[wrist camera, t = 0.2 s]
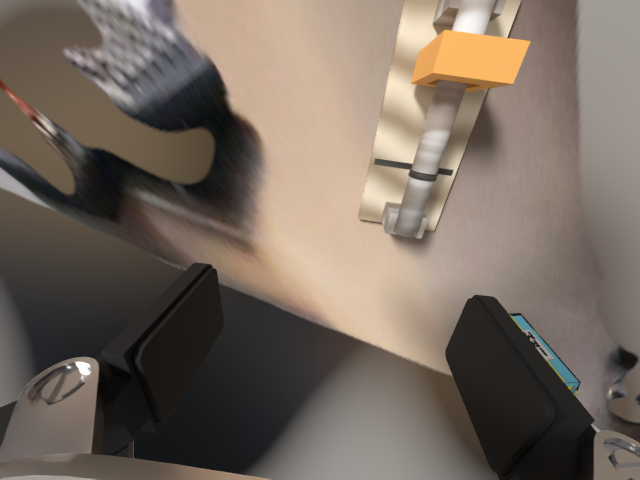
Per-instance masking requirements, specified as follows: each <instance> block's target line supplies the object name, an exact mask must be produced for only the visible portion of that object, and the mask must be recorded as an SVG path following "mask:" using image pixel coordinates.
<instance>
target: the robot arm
mask: <svg viewBox="0 0 640 480" xmlns="http://www.w3.org/2000/svg"><path fill="white" fill-rule="evenodd" d="M223 325H224V318H223V312H222V305H221V298H220V291H219V284H218V277H217V271H216V269H213V267H212V265H210V264H203V263H194V264H192V265H191V266H190V267H189V268H188V269H187V270H186V271H185V272H184V273H183V274H182V275H181V276H180V277H179V278H178V279H177V280H176V281H175V282H173V283H172V284H171V285H170V286H169V287H168V288H167V289H166V290H165V291H164V292H163V293H162V294H161V295H160V296H159V297H158V298H157V299H156V300H155V301H154V302H153V303H152V304H151V305H150V306H148V307H147V309H145V310H144V311H143V312H142V313H141V314H140V315H139V316H138V317H137V318H136V319H135V320H134V321H133V322H132V323H131V324H130V325H129V326H128V327H127V328H126V329H125V330H124V331H123V332H122V333H121V334H119V336H117V337H116V338H115V339H114V340H113V341H112V342H111V343H110V344H109V345H108V346H107V347H106V348H105V349H104V350H103V351H102V355H101V356H100V357H99V358H98V359H97V360H95V359H93V358H89V357H77V358H73V359H69V360H66V361H63V362H61V363H59V364H56V365H54V366H52V367H50V368H49V369H47V370H45V371H43V372H42V373H41V374H39V375H38V376H37V377H35V378H34V379H33V380H32V381H31V382H30V383H29V384H28V385H27V386H26V387H25V388H24V389H23V391H22V392H21V394H20V396H19V398H18V400H17V401H15V402H12V403H10V404H8V405H5V406H3V407H0V480H271V479H265V478H259V477H252V476H246V475H240V474H233V473H227V472H221V471H214V470H207V469H201V468H195V467H189V466H182V465H176V464H170V463H161V462H155V461H147V460H140V459H134V452H133V451H134V449H133V441H134V440H135V438H136V437H137V435H138V433H139V432H140V431H147V432H154V433H157V431H158V430H159V428H160V426H161V425H162V423H163V422H166V421H168V420H169V419H170V418H171V416H172V414H173V413H174V411H175V409H176V408H177V406H178V404H179V402H180V401H181V399H182V397H183V396H184V394H185V392H186V391H187V389H188V387H189V385H190V384H191V382H192V380H193V379H194V377H195V375H196V373H197V372H198V370H199V368H200V367H201V365H202V363H203V361H204V359H205V358H206V356H207V355H208V353H209V351H210V349H211V348H212V346H213V344H214V343H215V341H216V339H217V337H218V336H219V334H220V332H221V331H222V328H223ZM446 360H447V362H448V365H449V367H450V370H451V372H452V375H453V377H454V379H455V382H456V384H457V387H458V389H459V392H460V394H461V397H462V399H463V402H464V404H465V407H466V409H467V411H468V414H469V417H470V419H471V421H472V424H473V426H474V429H475V431H476V434H477V436H478V439H479V441H480V444H481V446H482V449H483V451H484V454H485V456H486V458H487V461H488V463H489V465H490V467H491V469H492V470H493V471H494V472H495V473H497V474H498V477H499V479H500V480H640V443H638V442H637V441H635V440H633V439H631V438H629V437H627V436H625V435H623V434H620V433H617V432H614V431H607V430H601V431H599V432H596V430H595V429H594V428H593V427H592V425H591V424H592V423H593V422H594V421H595V420H594V419H593V418H592V416H591V415H590V414H589V413H588V411H587V410H586V409H585V408H584V406H583V405H582V404H581V403H580V402H579V400H578V399H577V398H576V397H575V395H574V394H573V393H572V392H571V390H570V389H569V388H568V387H567V385H566V384H565V383H564V382H563V381H562V379H561V378H560V377H559V376H558V374H557V373H556V372H555V371H554V369H553V368H552V367H551V366H550V365H549V363H548V362H547V361H546V360H545V358H544V357H543V356H542V355H541V353H540V352H539V351H538V350H537V348H536V347H535V346H534V345H533V344H532V342H531V341H530V340H529V339H528V337H527V336H526V335H525V334H524V332H523V331H522V330H521V329H520V327H519V326H518V325H517V324H516V323H515V321H514V320H513V319H512V318H511V316H510V315H509V314H508V313H507V311H506V310H505V309H504V308H503V307H502V305H501V304H500V303H499V302H498V300H497V299H496V298H495V297H491V296H482V295H474V296H473V297H472V298H470V299H468V300H467V302H466V304H465V307H464V309H463V311H462V314H461V316H460V318H459V320H458V323H457V325H456V327H455V330H454V332H453V334H452V337H451V339H450V341H449V343H448V346H447V348H446Z"/></svg>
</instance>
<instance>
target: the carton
mask: <svg viewBox="0 0 640 480" xmlns="http://www.w3.org/2000/svg"><path fill="white" fill-rule="evenodd" d="M509 315H510V316H511V318H512V319H513V320H514V321H515V323H516V324H517V325H518V326H519V327H520V329H521V330H522V331H523V332H524V334H525V335H526V336H527V337H528V339H529V340H530V341H531V342H532V344H533V345H534V346H535V347H536V348H537V350H538V351H539V352H540V353H541V355H542V356H543V357H544V358H545V360H546V361H547V362H548V363H549V365H550V366H551V367H552V368H553V369H554V371H555V372H556V373H557V374H558V376H559V377H560V378H561V379H562V381H563V382H564V383H565V384H566V385H567V387H568V388H569V389H570V390H571V392H572V393H573V394H574V395H575V396H576V393H577V391H578V388H579V385H580V383H581V382H580V381H579V380H578V379H577V378H576V376H575V375H574V374H573V373H572V372H571V371H570V370H569V368H568V367H567V366H566V365H565V364H564V363H563V362H562V360H561V359H560V358H559V357H558V356H557V355H556V353H555V352H554V351H553V350H552V349H551V348H550V347H549V345H548V344H547V343H546V342H545V341H544V340H543V339H542V337H541V336H540V335H539V334H538V333H537V332H536V331H535V329H534V328H533V327H532V326H531V325H530V324H529V323H528V321H527V320H526V319H525V318H524V317H523V316H522V315H521V313H516V314H509ZM591 425H592V427H593V428H594V429H595V430H596V432H599V431H600V430H599V429H598V428H596V427H595V426H594V425H593V424H591Z"/></svg>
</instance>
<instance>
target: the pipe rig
mask: <svg viewBox="0 0 640 480" xmlns="http://www.w3.org/2000/svg"><path fill="white" fill-rule="evenodd" d="M520 2H521V0H405V1H404V6H403V10H402V15H401V20H400V24H399V29H398V34H397V38H396V43H395V48H394V52H393V57H392V62H391V66H390V71H389V75H388V80H387V85H386V89H385V94H384V99H383V103H382V108H381V113H380V117H379V122H378V127H377V131H376V136H375V141H374V145H373V150H372V155H371V159H370V164H369V169H368V173H367V178H366V182H365V187H364V192H363V196H362V201H361V206H360V210H359V215H358V219H362V220H368V221H374V222H381V223H382V224H383V227H384V230H385V233H389V234H395V235H400V236H403V237H407V238H413V237H414V238H420V239H421V238H422V236H423V233H424V230H431V231H434V230H435V228H436V225H437V222H438V220H439V217H440V214H441V212H442V209H443V206H444V204H445V201H446V198H447V196H448V193H449V190H450V188H451V185H452V182H453V180H454V177H455V175H456V172H457V169H458V167H459V164H460V161H461V159H462V156H463V153H464V151H465V148H466V145H467V143H468V140H469V137H470V135H471V132H472V130H473V127H474V124H475V122H476V119H477V116H478V114H479V111H480V108H481V106H482V103H483V100H484V98H485V95H486V92H487V90H488V89H483V90H478V91H473V92H467V91H465V90H466V87H467V84H468V83H461V82H454V81H447V80H440V79H438V80H437V83H436V86H435V87H431V86H424V85H417V84H411V81H412V77H413V73H414V69H415V65H416V61H417V57H418V53H419V52H420V51H421V50H422V49H423V48H425V47H426V46H427V45H428V44H429V43H430V42H431V41H433V40H434V39H435V38H436V37H437V36H438V35H439V34H441V33H442V32H443V31H444V30H451V31H458V32H466V33H473V34H481V35H488V36H496V37H503V38H507V37H508V34H509V32H510V29H511V26H512V24H513V21H514V18H515V16H516V13H517V10H518V8H519V5H520Z"/></svg>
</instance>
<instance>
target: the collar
mask: <svg viewBox="0 0 640 480" xmlns="http://www.w3.org/2000/svg"><path fill="white" fill-rule="evenodd" d="M529 44H530V41H526V40H518V39H511V38H503V37H496V36H488V35H481V34H473V33H466V32H458V31H451V30H444V31H443V32H442V33H441V34H439V35H438V36H437V37H436V38H435V39H434V40H433V41H431V42H430V43H429V44H428V45H427V46H426V47H425V48H423V49H422V50H421V51H420V52H419V53H418V57H417V61H416V65H415V69H414V73H413V77H412V81H411V84H417V85H424V86H431V87H435V86H436V83H437V80H438V79H440V80H447V81H454V82H461V83H468V84H467V87H466V90H465V91H467V92H473V91H478V90H483V89H489V88H494V87H500V86H505V85H510V84H513V83H514V80H515V78H516V75H517V73H518V70H519V68H520V66H521V63H522V61H523V58H524V56H525V54H526V51H527V49H528V46H529Z"/></svg>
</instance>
